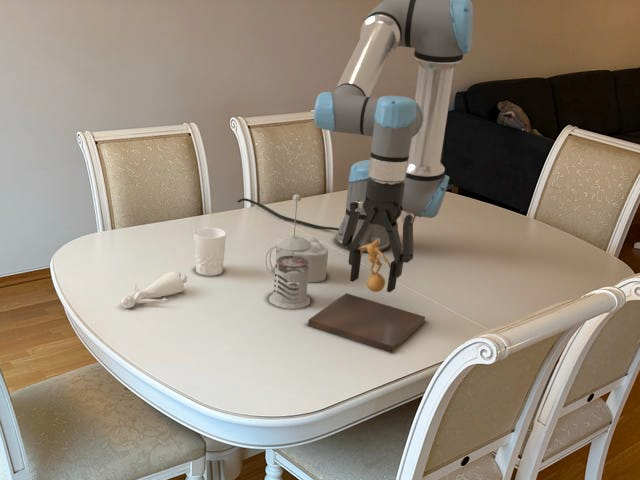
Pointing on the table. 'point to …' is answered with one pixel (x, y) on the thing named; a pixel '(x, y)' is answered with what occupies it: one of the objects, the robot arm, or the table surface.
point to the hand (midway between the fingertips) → (372, 284)
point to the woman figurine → (156, 290)
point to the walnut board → (367, 322)
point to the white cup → (209, 250)
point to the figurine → (374, 280)
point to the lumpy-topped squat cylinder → (310, 260)
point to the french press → (289, 293)
